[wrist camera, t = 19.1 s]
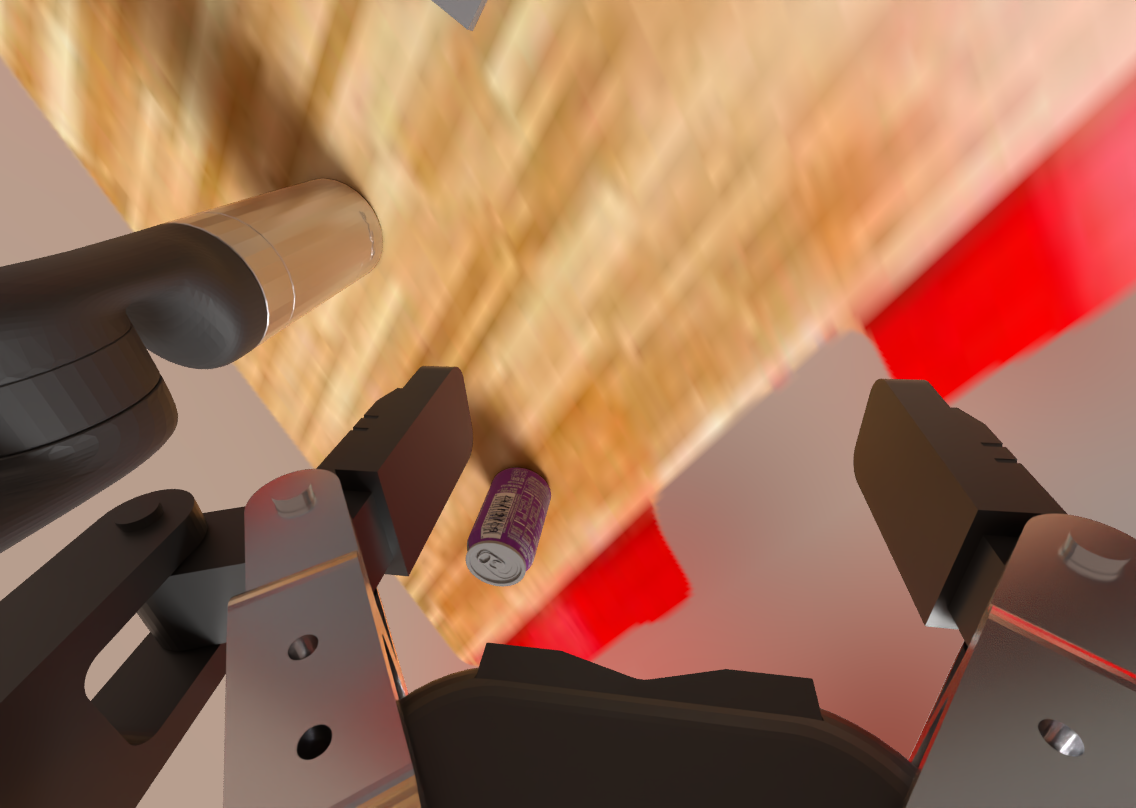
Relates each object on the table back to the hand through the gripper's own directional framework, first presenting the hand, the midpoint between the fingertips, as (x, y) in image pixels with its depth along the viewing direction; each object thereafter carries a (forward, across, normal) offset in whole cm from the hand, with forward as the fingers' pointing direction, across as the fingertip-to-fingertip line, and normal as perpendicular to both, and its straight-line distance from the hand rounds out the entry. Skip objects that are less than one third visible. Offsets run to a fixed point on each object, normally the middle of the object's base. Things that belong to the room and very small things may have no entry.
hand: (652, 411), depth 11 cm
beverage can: (+38, +15, +35) cm, 54 cm away
